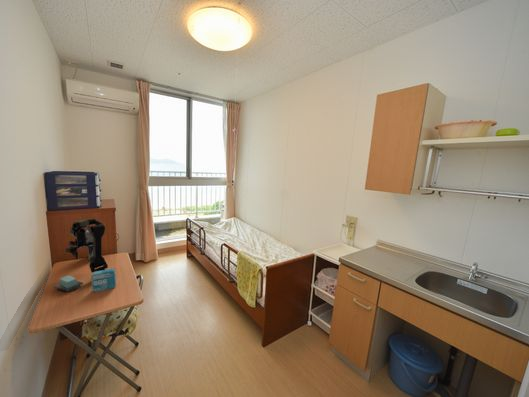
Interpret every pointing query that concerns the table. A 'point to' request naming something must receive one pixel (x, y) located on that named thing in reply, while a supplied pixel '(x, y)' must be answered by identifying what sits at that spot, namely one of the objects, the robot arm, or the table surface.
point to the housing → (68, 281)
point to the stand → (63, 288)
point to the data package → (103, 280)
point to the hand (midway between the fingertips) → (83, 257)
